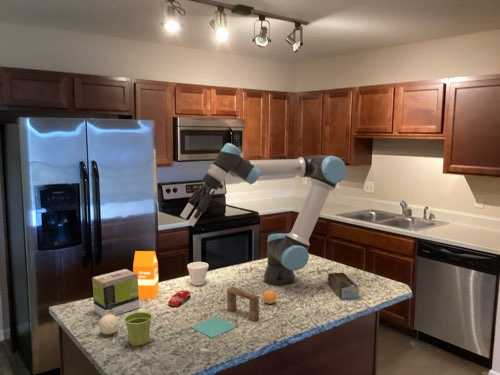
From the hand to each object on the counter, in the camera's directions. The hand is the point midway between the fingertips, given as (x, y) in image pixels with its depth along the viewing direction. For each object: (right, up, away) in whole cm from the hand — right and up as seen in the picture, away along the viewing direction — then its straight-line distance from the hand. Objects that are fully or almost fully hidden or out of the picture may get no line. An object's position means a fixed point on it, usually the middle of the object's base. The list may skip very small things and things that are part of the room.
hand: (186, 221), depth 174 cm
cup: (+2, -32, +27) cm, 42 cm away
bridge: (+23, -36, -8) cm, 44 cm away
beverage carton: (+68, -34, +16) cm, 77 cm away
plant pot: (-12, -39, -29) cm, 50 cm away
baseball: (-24, -38, -23) cm, 51 cm away
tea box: (-28, -36, -3) cm, 45 cm away
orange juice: (-19, -34, +13) cm, 41 cm away
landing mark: (+13, -38, -18) cm, 44 cm away
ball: (+34, -32, +4) cm, 47 cm away
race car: (-4, -35, +6) cm, 36 cm away
